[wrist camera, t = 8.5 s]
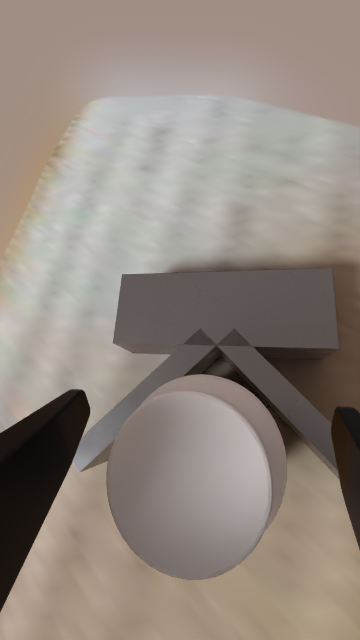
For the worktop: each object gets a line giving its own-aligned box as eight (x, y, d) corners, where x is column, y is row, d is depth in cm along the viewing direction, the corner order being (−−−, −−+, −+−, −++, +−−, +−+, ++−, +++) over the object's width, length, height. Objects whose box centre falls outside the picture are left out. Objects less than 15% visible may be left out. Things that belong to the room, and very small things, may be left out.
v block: (370, 493, 14) (403, 515, 11) (93, 459, 17) (63, 470, 14) (349, 290, 16) (371, 266, 14) (116, 294, 20) (94, 275, 17)
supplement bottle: (207, 367, 17) (166, 321, 8) (289, 428, 15) (360, 460, 6) (151, 443, 16) (36, 489, 7) (229, 516, 15) (208, 700, 5)
